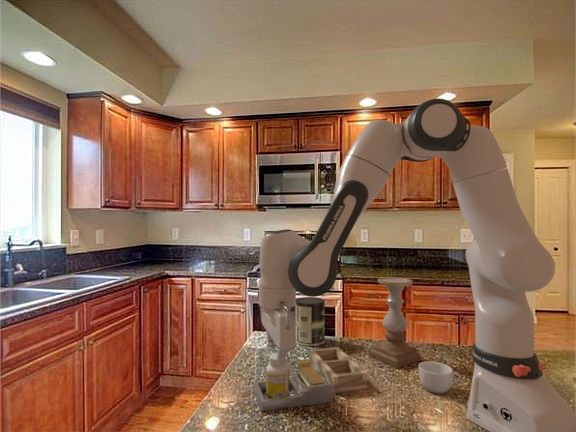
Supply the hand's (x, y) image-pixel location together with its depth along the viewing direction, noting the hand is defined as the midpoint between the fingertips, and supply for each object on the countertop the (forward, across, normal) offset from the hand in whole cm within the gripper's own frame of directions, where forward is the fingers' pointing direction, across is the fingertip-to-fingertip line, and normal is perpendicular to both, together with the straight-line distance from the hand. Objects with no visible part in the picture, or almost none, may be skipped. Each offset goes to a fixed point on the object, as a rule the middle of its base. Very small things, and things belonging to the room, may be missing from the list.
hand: (276, 355), depth 84 cm
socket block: (+10, +5, -4) cm, 12 cm away
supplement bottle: (+10, 0, 0) cm, 10 cm away
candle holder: (+10, +13, -40) cm, 43 cm away
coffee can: (+10, +34, -20) cm, 41 cm away
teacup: (+10, -7, -40) cm, 42 cm away
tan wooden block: (+10, +2, -9) cm, 14 cm away
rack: (+10, +7, -18) cm, 22 cm away
